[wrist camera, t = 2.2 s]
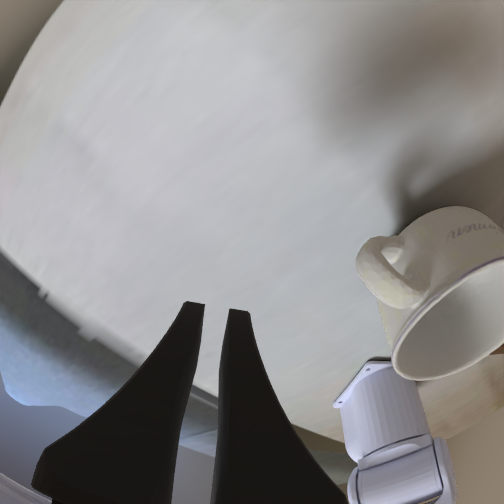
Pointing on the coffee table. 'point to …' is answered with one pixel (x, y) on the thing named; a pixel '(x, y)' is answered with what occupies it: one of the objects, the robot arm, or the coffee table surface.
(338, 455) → the coffee table surface
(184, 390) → the robot arm
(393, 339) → the teacup
